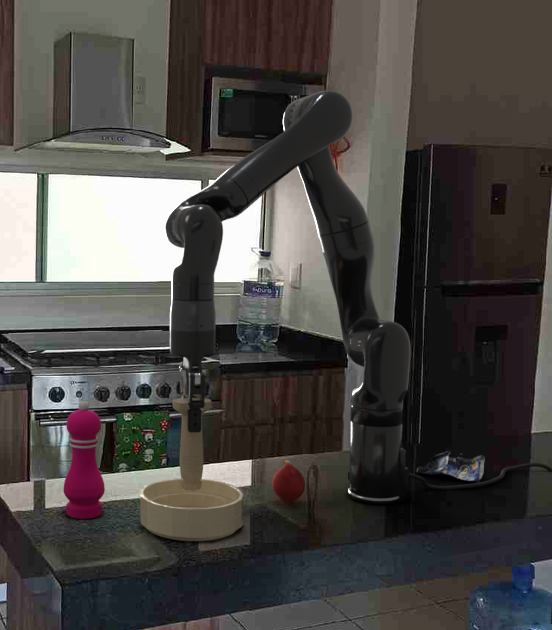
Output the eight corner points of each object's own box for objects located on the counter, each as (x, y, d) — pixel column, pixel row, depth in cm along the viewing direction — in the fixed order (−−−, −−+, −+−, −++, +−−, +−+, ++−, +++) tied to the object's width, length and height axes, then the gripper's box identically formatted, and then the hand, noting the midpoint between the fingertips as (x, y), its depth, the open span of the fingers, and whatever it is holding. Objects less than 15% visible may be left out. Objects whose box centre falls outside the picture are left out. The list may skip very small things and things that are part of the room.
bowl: (232, 507, 148) (233, 477, 148) (252, 541, 131) (252, 508, 131) (137, 509, 147) (137, 479, 147) (143, 544, 130) (143, 510, 130)
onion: (306, 501, 152) (307, 458, 151) (302, 510, 147) (303, 466, 146) (274, 498, 154) (275, 455, 153) (269, 507, 148) (270, 463, 148)
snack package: (442, 487, 161) (494, 481, 163) (438, 454, 161) (491, 449, 164) (408, 481, 172) (457, 475, 175) (405, 450, 173) (454, 445, 176)
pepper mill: (73, 522, 140) (72, 406, 139) (57, 510, 147) (56, 399, 145) (111, 516, 144) (111, 402, 142) (94, 504, 150) (93, 395, 148)
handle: (214, 491, 137) (215, 402, 136) (178, 494, 136) (178, 404, 134) (204, 483, 142) (204, 397, 141) (168, 486, 140) (169, 398, 139)
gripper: (222, 331, 130) (221, 437, 131) (208, 322, 144) (208, 419, 145) (174, 331, 129) (174, 438, 131) (165, 322, 143) (165, 419, 145)
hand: (192, 427), depth 138 cm, fingers closed on handle, 5 cm apart
